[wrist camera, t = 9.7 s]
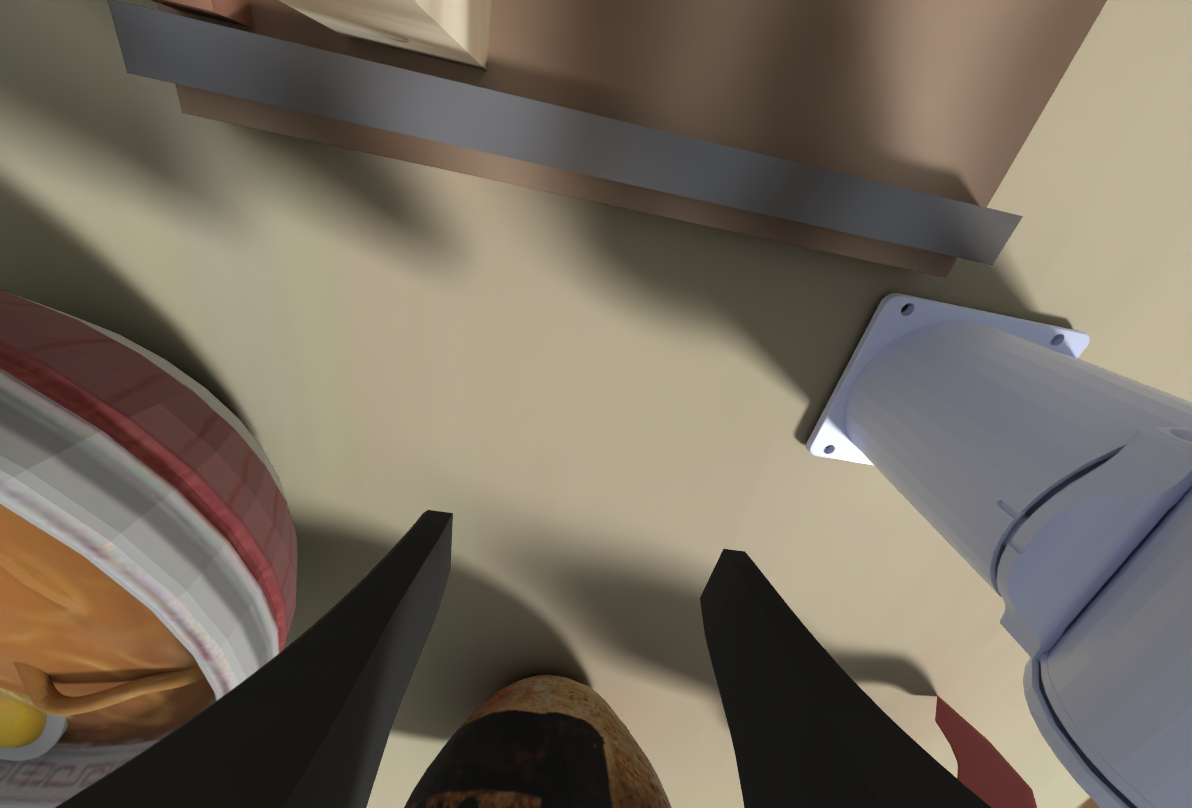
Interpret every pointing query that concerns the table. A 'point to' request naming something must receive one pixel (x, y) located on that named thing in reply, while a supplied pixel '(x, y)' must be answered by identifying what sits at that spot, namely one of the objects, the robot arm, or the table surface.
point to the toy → (982, 763)
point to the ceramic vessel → (541, 754)
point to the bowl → (122, 552)
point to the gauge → (411, 25)
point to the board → (670, 105)
